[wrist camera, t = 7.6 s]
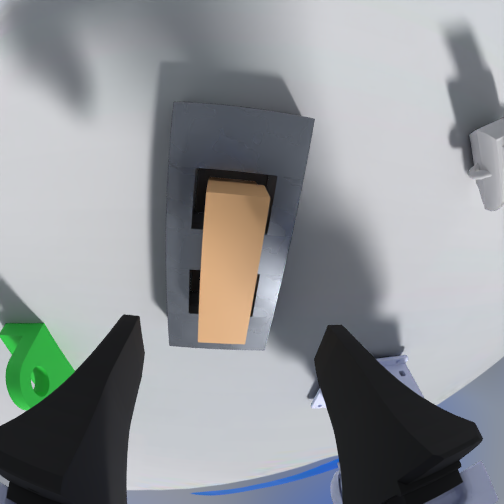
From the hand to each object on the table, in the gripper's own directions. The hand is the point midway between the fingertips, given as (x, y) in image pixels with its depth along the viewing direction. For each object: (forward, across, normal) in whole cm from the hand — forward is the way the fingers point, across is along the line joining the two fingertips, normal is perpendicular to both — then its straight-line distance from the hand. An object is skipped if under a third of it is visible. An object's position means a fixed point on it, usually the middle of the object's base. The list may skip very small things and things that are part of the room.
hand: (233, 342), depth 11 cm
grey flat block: (+9, 0, 0) cm, 9 cm away
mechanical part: (+10, +18, +17) cm, 26 cm away
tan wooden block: (+9, 0, 0) cm, 9 cm away
